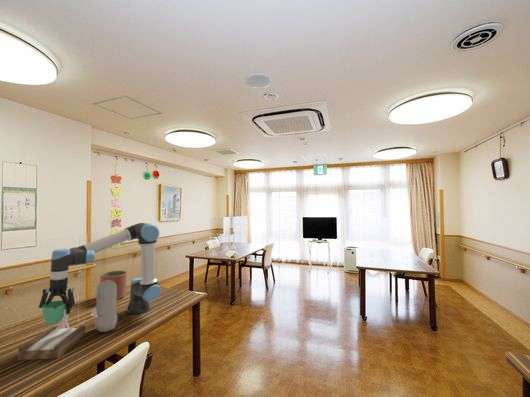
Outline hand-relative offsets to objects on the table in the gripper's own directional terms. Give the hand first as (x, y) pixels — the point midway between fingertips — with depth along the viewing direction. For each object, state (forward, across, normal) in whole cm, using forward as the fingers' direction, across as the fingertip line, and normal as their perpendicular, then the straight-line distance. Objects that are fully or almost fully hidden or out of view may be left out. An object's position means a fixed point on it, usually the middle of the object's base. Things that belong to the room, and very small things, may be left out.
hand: (56, 320), depth 131 cm
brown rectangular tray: (+14, 0, 0) cm, 14 cm away
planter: (+14, +2, -71) cm, 72 cm away
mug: (+1, -1, 0) cm, 1 cm away
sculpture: (+14, -18, -16) cm, 28 cm away
